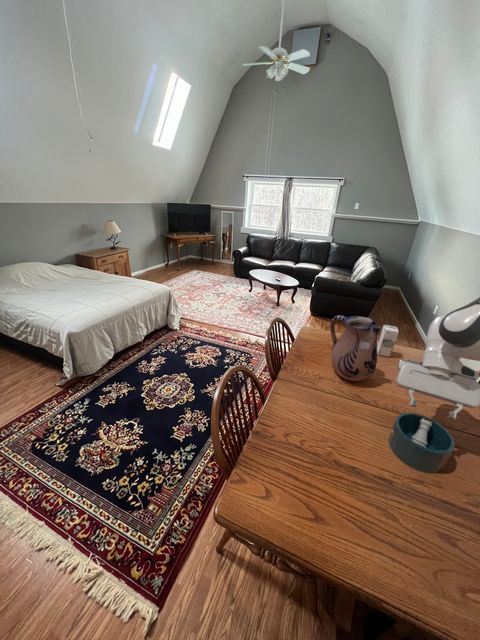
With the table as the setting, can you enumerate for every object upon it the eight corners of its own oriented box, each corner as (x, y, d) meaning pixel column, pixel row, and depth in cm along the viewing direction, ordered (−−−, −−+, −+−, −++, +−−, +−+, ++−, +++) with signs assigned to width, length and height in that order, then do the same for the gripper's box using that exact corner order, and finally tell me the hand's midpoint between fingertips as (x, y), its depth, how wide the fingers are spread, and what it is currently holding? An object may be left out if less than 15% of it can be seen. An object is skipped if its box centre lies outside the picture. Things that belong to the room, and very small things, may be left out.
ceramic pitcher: (368, 393, 104) (385, 337, 94) (315, 374, 114) (325, 321, 104) (373, 371, 118) (389, 320, 108) (326, 356, 128) (336, 308, 117)
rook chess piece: (408, 440, 81) (417, 415, 82) (410, 441, 84) (419, 417, 85) (425, 449, 78) (434, 423, 78) (427, 449, 81) (436, 424, 82)
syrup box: (388, 351, 134) (396, 326, 128) (390, 358, 129) (399, 331, 123) (375, 349, 136) (383, 324, 130) (377, 355, 131) (385, 329, 125)
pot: (435, 439, 85) (444, 420, 82) (451, 480, 73) (463, 460, 69) (385, 426, 90) (392, 407, 86) (392, 462, 77) (400, 442, 74)
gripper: (402, 353, 82) (392, 397, 78) (486, 375, 73) (480, 425, 69) (398, 359, 87) (389, 400, 83) (476, 379, 79) (470, 426, 75)
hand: (431, 412), depth 76 cm, fingers open, 8 cm apart
